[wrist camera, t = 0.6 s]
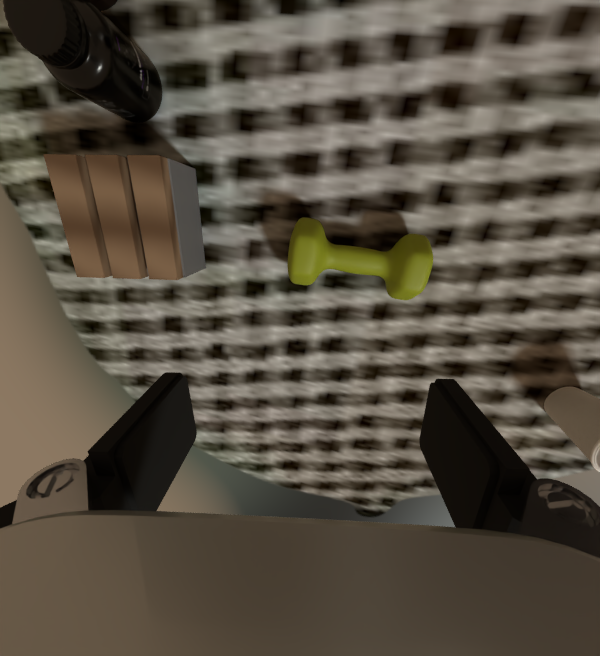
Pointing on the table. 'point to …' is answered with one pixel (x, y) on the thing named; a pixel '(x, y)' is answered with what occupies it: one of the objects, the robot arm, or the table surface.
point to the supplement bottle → (88, 54)
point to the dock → (185, 216)
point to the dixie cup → (577, 419)
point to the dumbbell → (360, 260)
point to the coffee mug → (103, 3)
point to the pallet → (117, 215)
